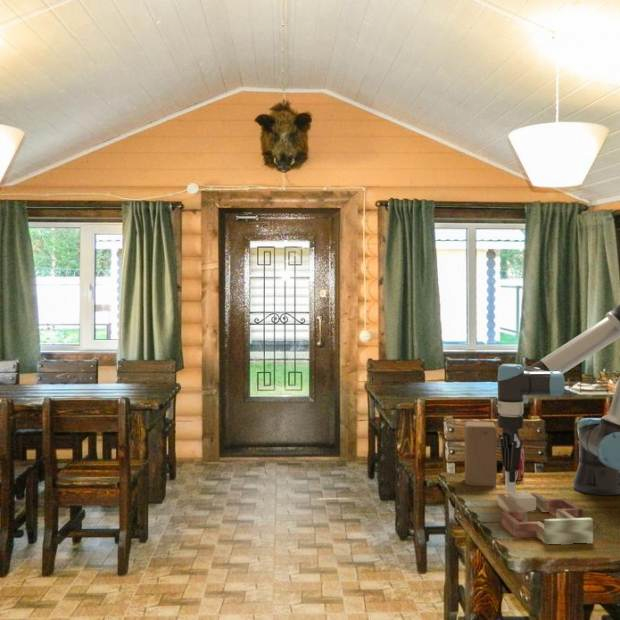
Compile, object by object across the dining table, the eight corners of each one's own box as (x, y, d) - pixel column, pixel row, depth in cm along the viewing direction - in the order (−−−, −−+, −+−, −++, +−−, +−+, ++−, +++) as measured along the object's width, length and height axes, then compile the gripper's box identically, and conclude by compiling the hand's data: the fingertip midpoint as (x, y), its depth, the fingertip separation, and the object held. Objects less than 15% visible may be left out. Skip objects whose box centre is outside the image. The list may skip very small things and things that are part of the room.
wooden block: (496, 487, 225) (496, 426, 225) (465, 486, 227) (465, 425, 227) (494, 480, 235) (494, 421, 235) (464, 478, 237) (464, 420, 237)
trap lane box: (554, 504, 206) (554, 484, 206) (614, 542, 173) (613, 518, 173) (480, 506, 204) (480, 486, 204) (525, 545, 171) (525, 521, 171)
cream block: (526, 505, 206) (526, 492, 206) (536, 511, 200) (536, 497, 200) (507, 506, 205) (507, 493, 205) (516, 512, 199) (516, 498, 199)
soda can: (521, 482, 231) (520, 446, 231) (500, 479, 235) (500, 444, 235) (526, 478, 237) (526, 443, 237) (506, 475, 241) (505, 441, 241)
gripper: (491, 411, 217) (491, 486, 217) (506, 418, 204) (506, 498, 204) (514, 411, 217) (514, 485, 217) (531, 418, 204) (531, 497, 204)
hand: (510, 491), depth 211 cm, fingers closed
